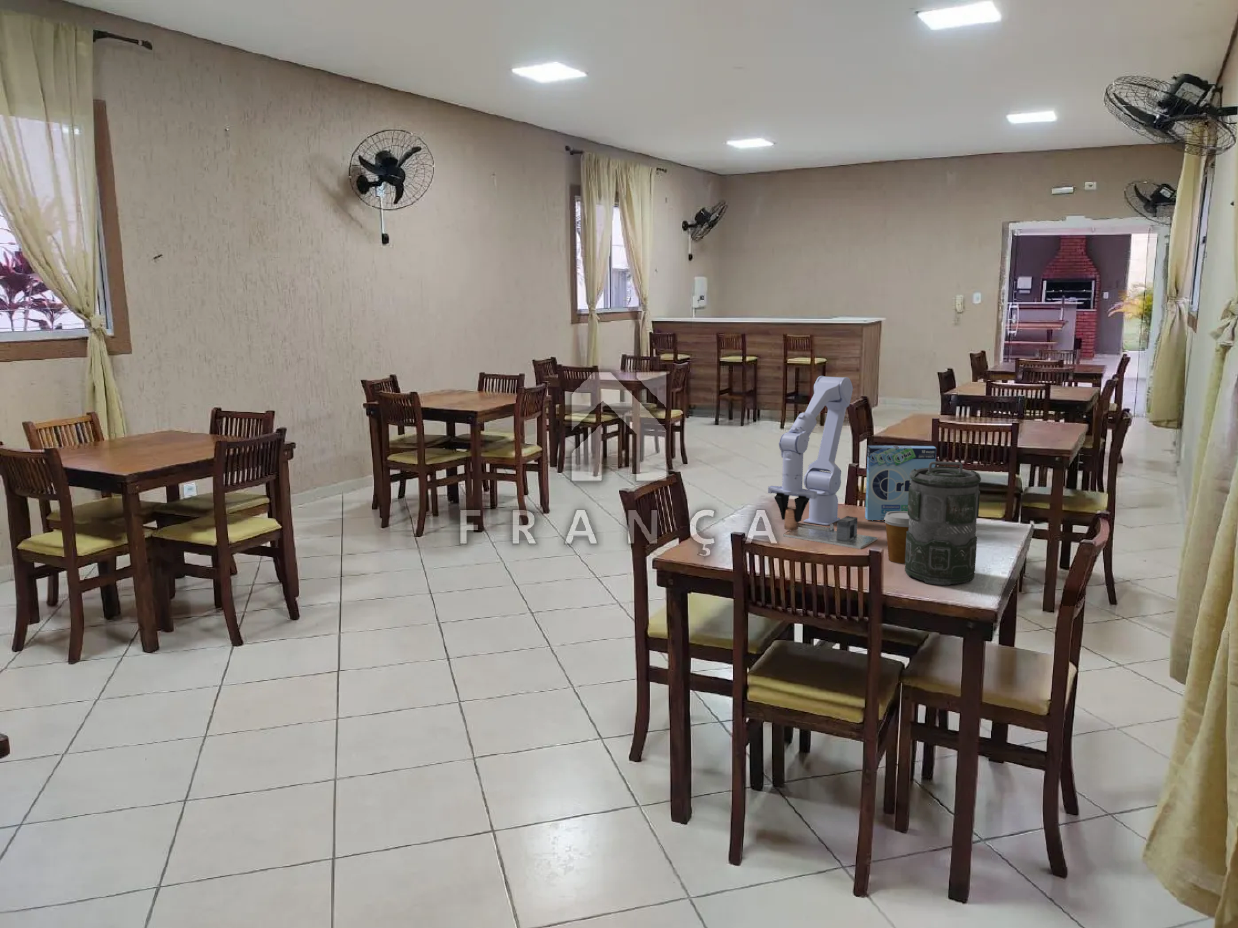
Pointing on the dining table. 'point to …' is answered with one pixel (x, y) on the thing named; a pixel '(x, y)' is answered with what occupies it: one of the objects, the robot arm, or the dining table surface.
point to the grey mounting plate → (835, 534)
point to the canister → (942, 524)
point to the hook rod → (793, 525)
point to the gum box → (892, 476)
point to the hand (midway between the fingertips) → (791, 520)
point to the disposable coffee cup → (896, 534)
